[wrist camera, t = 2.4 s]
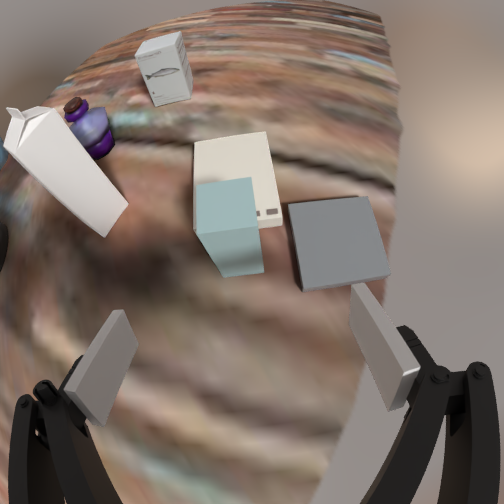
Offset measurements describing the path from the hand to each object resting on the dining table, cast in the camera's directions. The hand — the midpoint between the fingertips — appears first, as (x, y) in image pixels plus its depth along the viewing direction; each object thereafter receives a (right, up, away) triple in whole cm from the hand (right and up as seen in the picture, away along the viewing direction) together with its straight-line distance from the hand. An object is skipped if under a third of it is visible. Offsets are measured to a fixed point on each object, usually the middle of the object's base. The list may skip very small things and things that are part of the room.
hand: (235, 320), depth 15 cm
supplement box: (-14, +34, +30) cm, 48 cm away
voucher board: (-1, +13, +20) cm, 24 cm away
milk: (-20, +9, +20) cm, 30 cm away
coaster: (+11, +5, +16) cm, 19 cm away
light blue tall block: (0, +3, +16) cm, 16 cm away
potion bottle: (-26, +22, +26) cm, 43 cm away
